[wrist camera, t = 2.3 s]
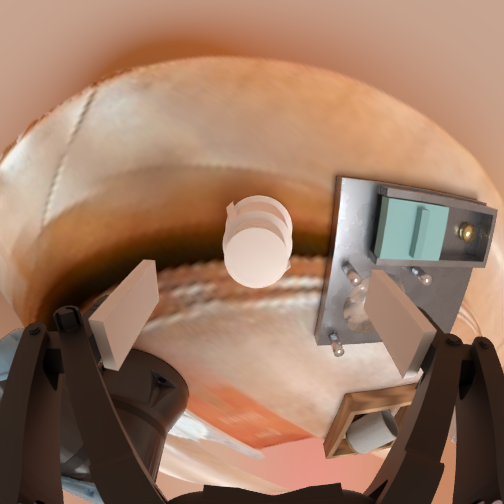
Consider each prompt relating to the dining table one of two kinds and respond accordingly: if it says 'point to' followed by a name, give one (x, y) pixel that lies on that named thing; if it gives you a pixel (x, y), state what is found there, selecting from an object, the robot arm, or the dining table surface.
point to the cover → (410, 229)
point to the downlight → (257, 241)
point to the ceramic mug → (371, 431)
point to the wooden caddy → (366, 404)
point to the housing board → (396, 260)
